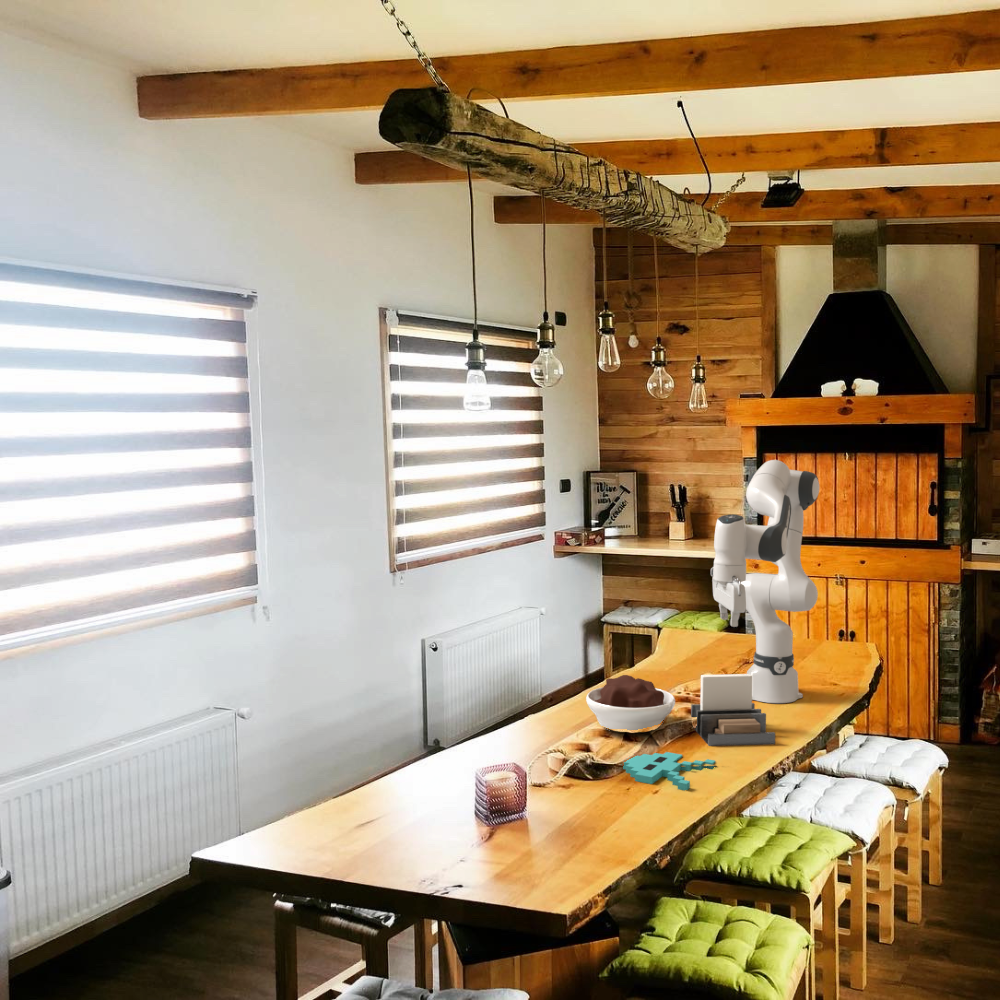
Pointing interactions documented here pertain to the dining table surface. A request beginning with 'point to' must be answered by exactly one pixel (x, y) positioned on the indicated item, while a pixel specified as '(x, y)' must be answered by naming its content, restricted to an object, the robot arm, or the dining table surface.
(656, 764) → the alien figure
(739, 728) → the offcut upper
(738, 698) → the tall sheet
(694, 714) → the rack
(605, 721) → the bowl of chocolate
